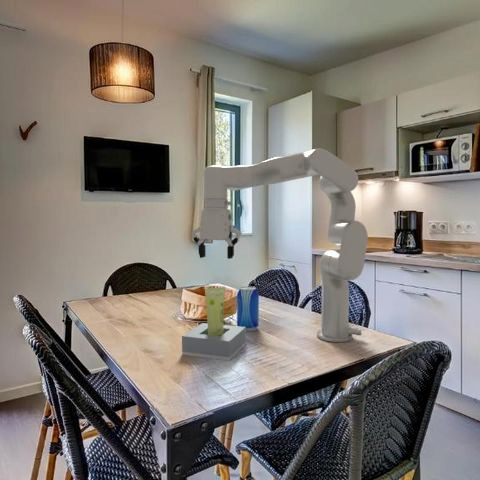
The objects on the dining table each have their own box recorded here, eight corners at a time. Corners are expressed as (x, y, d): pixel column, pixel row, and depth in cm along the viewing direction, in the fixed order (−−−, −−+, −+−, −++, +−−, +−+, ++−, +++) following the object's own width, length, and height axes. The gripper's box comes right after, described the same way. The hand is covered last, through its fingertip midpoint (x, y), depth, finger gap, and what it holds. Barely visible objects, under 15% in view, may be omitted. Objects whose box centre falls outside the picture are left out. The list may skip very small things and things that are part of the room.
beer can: (256, 332, 148) (256, 290, 147) (234, 331, 150) (234, 289, 149) (260, 326, 156) (260, 286, 155) (239, 325, 158) (239, 285, 157)
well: (245, 344, 134) (245, 327, 134) (229, 360, 119) (229, 341, 119) (202, 339, 140) (202, 322, 139) (182, 354, 124) (181, 336, 124)
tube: (219, 350, 126) (219, 289, 124) (205, 348, 127) (204, 288, 126) (225, 344, 131) (225, 286, 130) (211, 342, 133) (210, 285, 131)
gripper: (244, 205, 128) (245, 257, 129) (196, 205, 133) (196, 255, 134) (237, 204, 120) (237, 260, 122) (186, 205, 126) (187, 258, 127)
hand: (216, 257), depth 128 cm, fingers open, 9 cm apart
